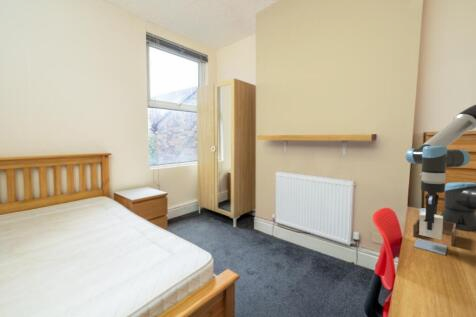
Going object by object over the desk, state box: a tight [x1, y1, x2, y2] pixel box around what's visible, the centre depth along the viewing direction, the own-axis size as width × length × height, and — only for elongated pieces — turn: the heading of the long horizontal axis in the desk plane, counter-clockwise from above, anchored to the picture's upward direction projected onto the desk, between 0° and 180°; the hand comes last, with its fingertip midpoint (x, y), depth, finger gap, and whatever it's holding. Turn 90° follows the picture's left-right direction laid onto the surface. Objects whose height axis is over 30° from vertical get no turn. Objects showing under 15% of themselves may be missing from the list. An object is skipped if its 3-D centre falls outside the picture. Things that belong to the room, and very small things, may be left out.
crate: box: [412, 216, 457, 247], centre depth 102 cm, size 15×14×6 cm
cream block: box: [418, 212, 443, 240], centre depth 92 cm, size 5×7×9 cm
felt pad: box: [412, 238, 448, 256], centre depth 92 cm, size 10×10×1 cm
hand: (430, 234), depth 92 cm, fingers closed on cream block, 5 cm apart
